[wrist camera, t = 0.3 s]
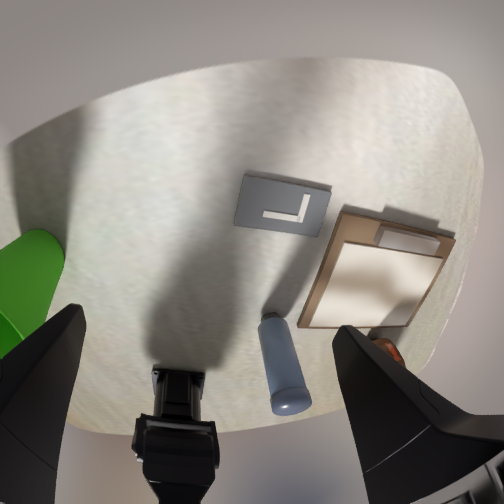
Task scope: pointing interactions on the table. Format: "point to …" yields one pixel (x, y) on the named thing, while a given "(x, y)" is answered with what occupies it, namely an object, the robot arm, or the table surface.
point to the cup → (27, 285)
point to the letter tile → (281, 206)
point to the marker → (282, 367)
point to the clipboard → (374, 274)
